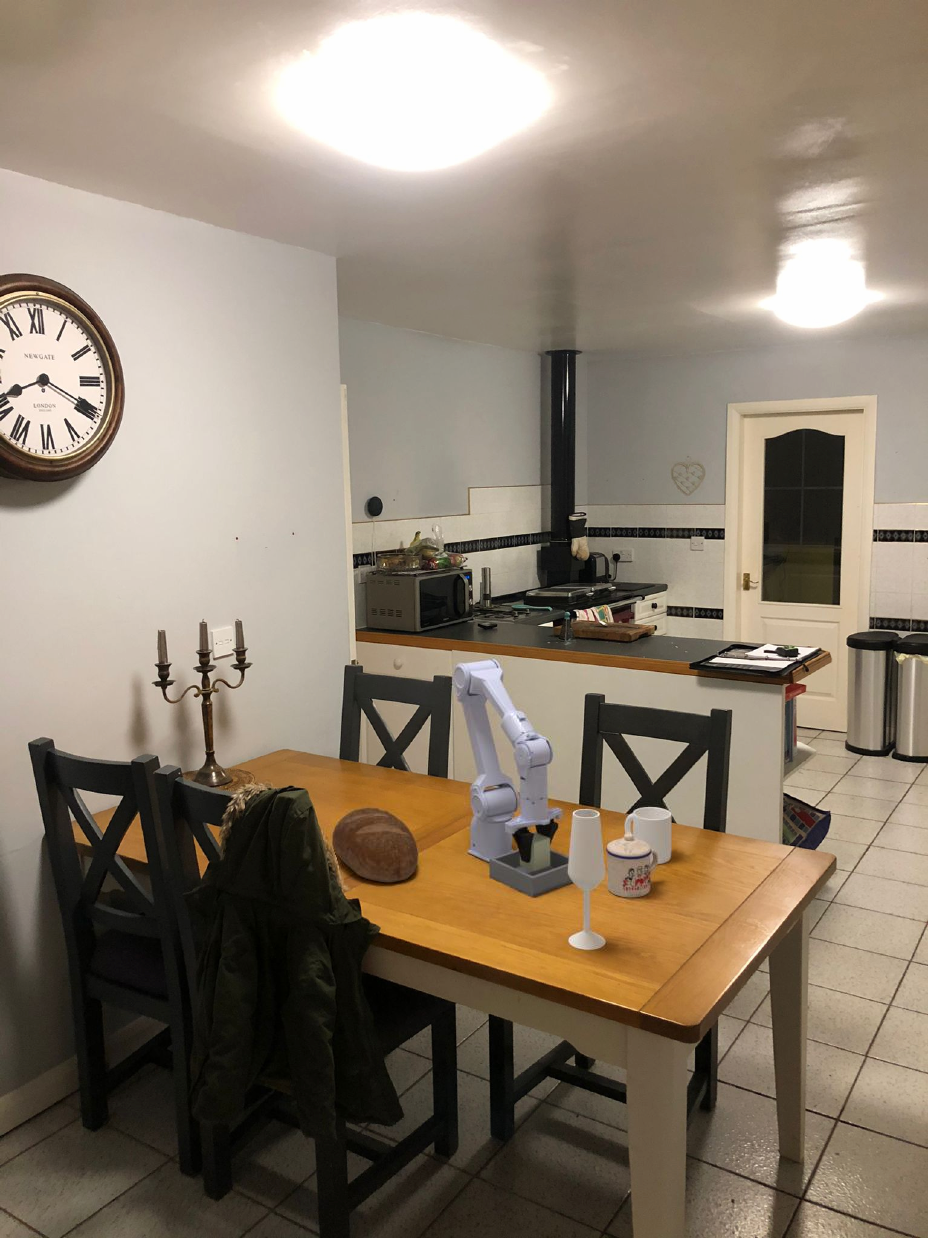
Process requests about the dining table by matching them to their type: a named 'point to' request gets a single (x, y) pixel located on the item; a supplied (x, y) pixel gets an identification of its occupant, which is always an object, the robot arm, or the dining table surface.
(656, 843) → the mug
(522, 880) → the bin
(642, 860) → the teacup with lid
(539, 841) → the block
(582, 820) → the champagne flute
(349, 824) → the bread
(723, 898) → the dining table surface
